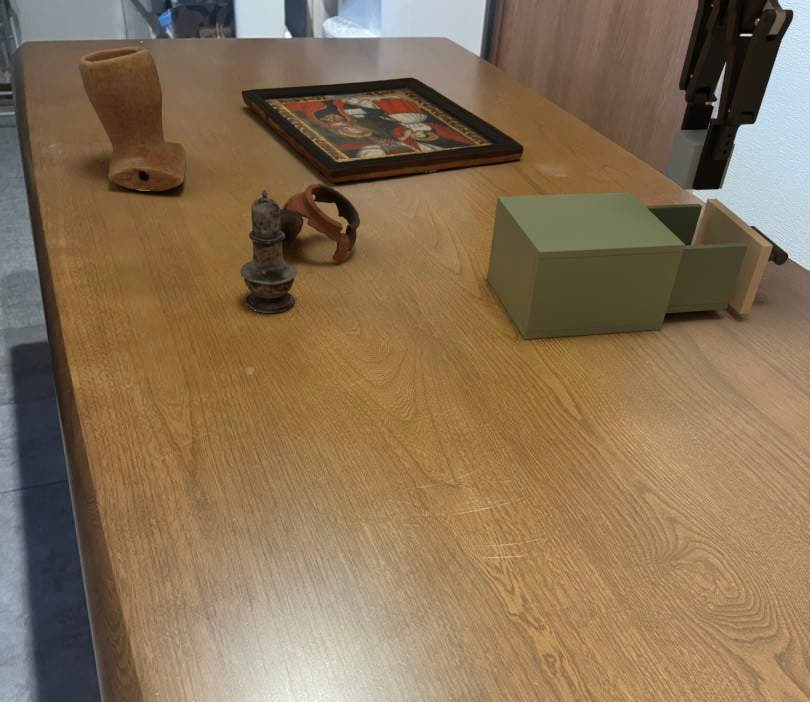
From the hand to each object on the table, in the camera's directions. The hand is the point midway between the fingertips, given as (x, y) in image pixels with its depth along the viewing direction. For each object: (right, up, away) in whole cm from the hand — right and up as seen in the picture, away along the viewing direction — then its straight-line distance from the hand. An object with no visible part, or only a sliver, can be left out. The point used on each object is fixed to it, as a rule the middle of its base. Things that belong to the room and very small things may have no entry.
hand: (694, 178), depth 93 cm
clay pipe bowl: (-66, +11, +25) cm, 71 cm away
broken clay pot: (-42, -5, +10) cm, 44 cm away
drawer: (+1, -10, +7) cm, 12 cm away
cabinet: (-12, -12, +5) cm, 18 cm away
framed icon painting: (-35, +24, +42) cm, 60 cm away
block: (0, 0, 0) cm, 0 cm away
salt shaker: (-45, -13, +1) cm, 47 cm away
